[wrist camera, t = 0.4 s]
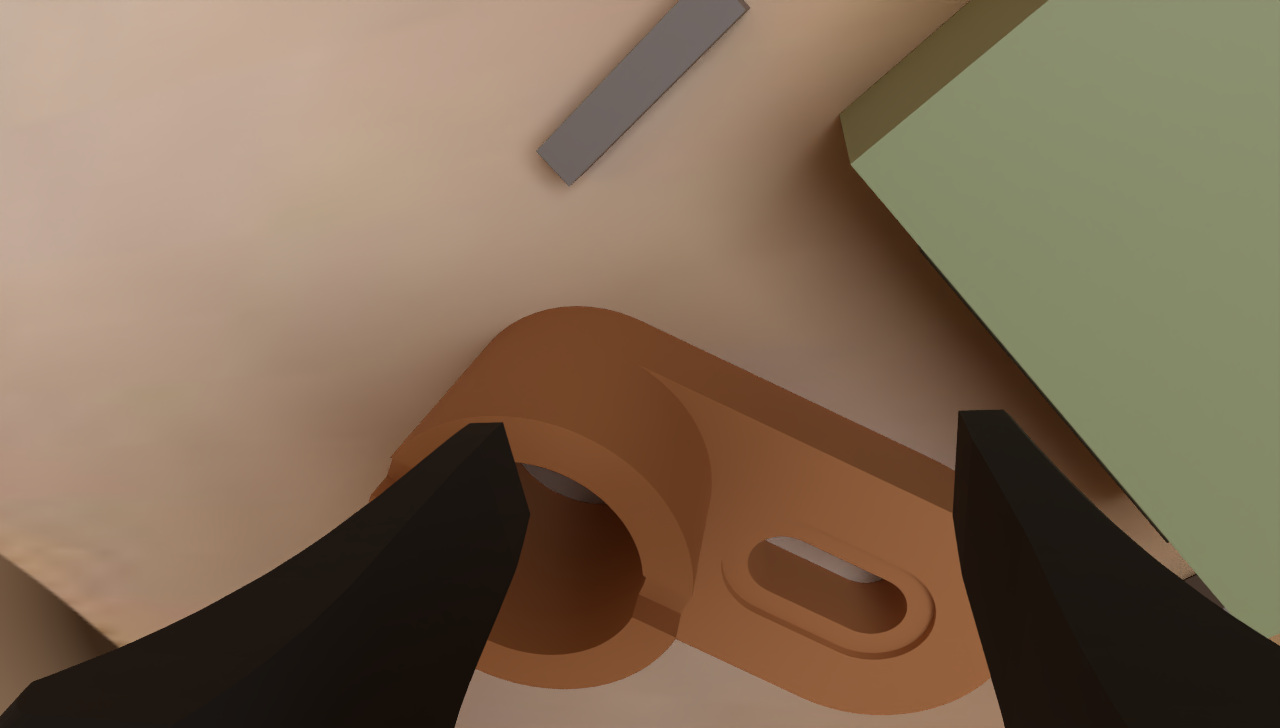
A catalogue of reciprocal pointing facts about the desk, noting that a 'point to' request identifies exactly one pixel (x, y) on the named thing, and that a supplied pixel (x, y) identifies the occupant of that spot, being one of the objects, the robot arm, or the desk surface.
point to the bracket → (708, 523)
